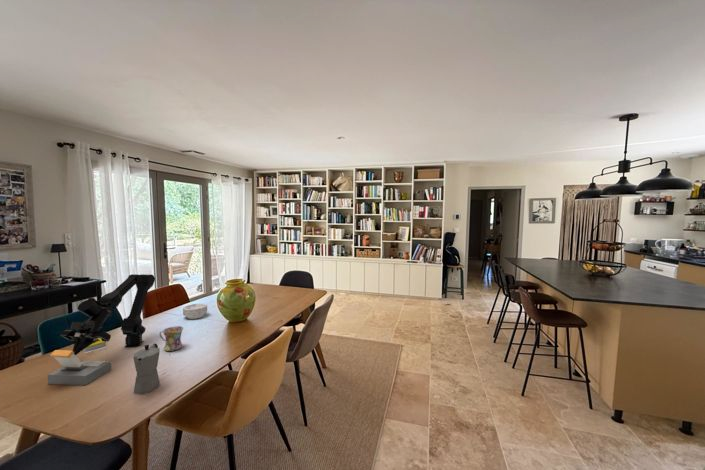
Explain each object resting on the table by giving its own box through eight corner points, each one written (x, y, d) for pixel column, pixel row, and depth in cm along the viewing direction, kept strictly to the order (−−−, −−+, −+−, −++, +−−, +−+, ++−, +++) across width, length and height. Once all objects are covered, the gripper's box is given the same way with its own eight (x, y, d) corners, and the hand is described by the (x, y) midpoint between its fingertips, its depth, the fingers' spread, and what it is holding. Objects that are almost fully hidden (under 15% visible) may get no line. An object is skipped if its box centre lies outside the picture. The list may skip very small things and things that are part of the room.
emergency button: (99, 333, 159) (108, 340, 151) (99, 340, 159) (108, 348, 151) (77, 338, 152) (84, 346, 143) (77, 346, 152) (84, 354, 143)
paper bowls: (193, 312, 209) (193, 302, 208) (211, 314, 207) (211, 303, 206) (177, 319, 194) (177, 308, 193) (197, 321, 192) (197, 310, 191)
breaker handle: (68, 364, 123) (55, 350, 117) (85, 364, 123) (72, 350, 117) (64, 369, 121) (49, 355, 115) (80, 369, 121) (67, 355, 115)
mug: (187, 345, 156) (187, 326, 155) (176, 352, 146) (176, 333, 146) (165, 344, 156) (165, 325, 155) (153, 352, 147) (153, 332, 146)
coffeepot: (152, 395, 111) (152, 351, 110) (124, 398, 109) (124, 353, 108) (168, 375, 126) (168, 335, 125) (144, 377, 124) (144, 337, 123)
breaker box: (76, 368, 129) (76, 359, 129) (110, 370, 129) (110, 360, 128) (47, 383, 117) (47, 373, 117) (85, 385, 117) (85, 375, 116)
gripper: (63, 312, 126) (36, 347, 115) (104, 313, 125) (81, 349, 115) (81, 323, 134) (57, 356, 124) (119, 324, 134) (99, 358, 123)
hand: (73, 355), depth 121 cm, fingers closed
